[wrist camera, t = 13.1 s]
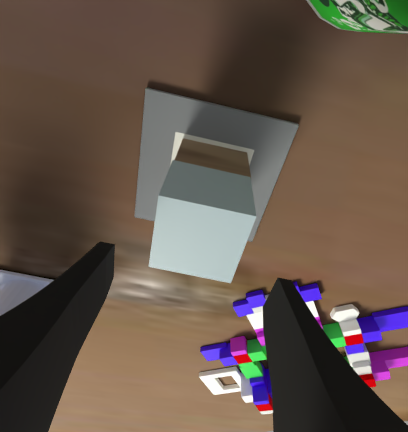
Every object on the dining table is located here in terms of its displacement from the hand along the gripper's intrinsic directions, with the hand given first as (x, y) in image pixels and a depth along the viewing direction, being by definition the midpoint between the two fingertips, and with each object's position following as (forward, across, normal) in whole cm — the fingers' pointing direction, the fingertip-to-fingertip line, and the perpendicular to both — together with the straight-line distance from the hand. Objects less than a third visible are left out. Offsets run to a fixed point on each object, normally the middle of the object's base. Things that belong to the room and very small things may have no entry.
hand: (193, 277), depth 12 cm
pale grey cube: (+6, 0, 0) cm, 6 cm away
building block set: (+11, -14, +19) cm, 26 cm away
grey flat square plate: (+10, 0, 0) cm, 10 cm away
